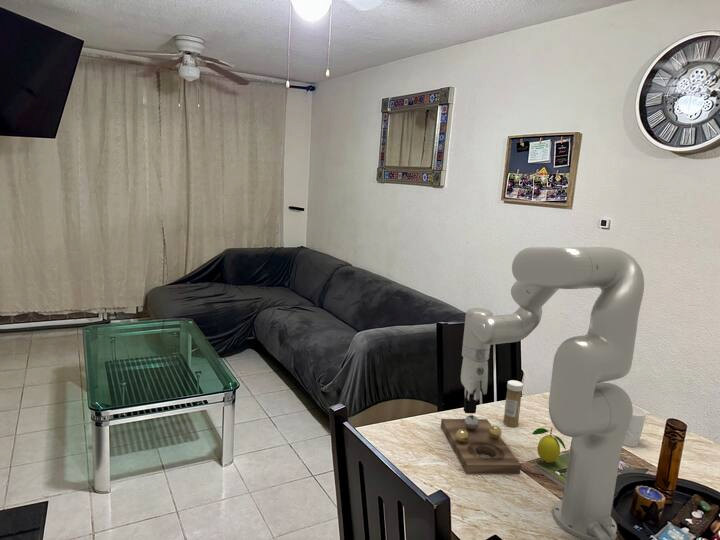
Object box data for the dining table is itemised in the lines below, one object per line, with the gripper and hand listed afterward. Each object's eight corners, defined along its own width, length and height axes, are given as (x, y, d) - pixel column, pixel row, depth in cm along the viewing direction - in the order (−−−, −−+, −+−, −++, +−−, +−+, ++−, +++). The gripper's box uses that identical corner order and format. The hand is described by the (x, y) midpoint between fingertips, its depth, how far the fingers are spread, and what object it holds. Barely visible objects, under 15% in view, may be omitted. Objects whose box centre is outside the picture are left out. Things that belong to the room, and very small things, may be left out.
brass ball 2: (502, 441, 133) (504, 429, 132) (490, 441, 133) (491, 429, 132) (497, 434, 136) (499, 423, 136) (485, 434, 136) (487, 423, 135)
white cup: (610, 443, 141) (615, 410, 139) (610, 431, 148) (615, 401, 146) (641, 451, 137) (646, 418, 136) (640, 439, 144) (645, 407, 142)
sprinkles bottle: (521, 425, 148) (526, 384, 146) (511, 428, 146) (516, 386, 143) (509, 419, 152) (514, 378, 150) (499, 422, 149) (504, 381, 147)
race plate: (520, 473, 122) (521, 464, 122) (466, 474, 121) (467, 464, 120) (486, 426, 146) (486, 419, 145) (440, 426, 144) (441, 418, 144)
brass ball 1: (469, 445, 130) (471, 433, 129) (457, 445, 129) (458, 433, 129) (465, 438, 133) (466, 426, 133) (453, 438, 133) (454, 426, 132)
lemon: (528, 457, 130) (533, 422, 129) (546, 454, 132) (550, 420, 131) (546, 471, 124) (551, 435, 123) (564, 467, 126) (569, 432, 125)
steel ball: (480, 432, 137) (481, 419, 136) (466, 432, 137) (467, 419, 136) (475, 425, 141) (476, 412, 140) (462, 425, 141) (463, 412, 140)
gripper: (498, 361, 131) (491, 424, 134) (479, 343, 145) (473, 401, 148) (471, 360, 130) (465, 424, 133) (455, 343, 144) (449, 400, 148)
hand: (469, 412), depth 141 cm, fingers closed
